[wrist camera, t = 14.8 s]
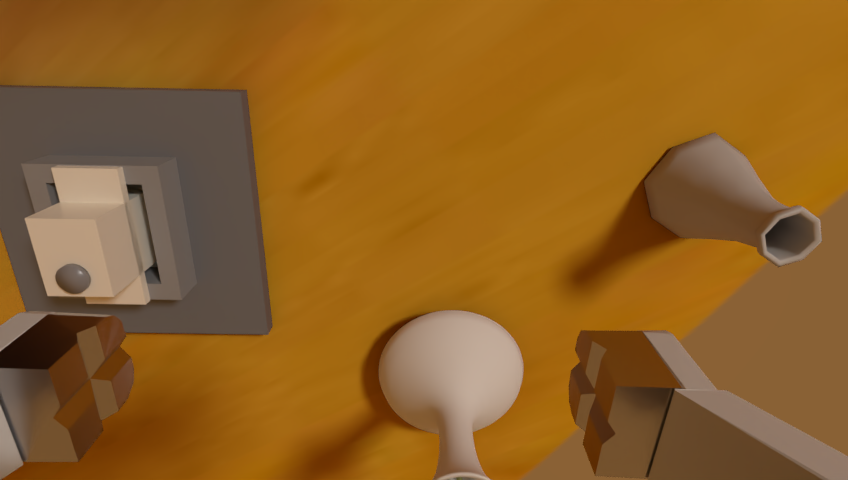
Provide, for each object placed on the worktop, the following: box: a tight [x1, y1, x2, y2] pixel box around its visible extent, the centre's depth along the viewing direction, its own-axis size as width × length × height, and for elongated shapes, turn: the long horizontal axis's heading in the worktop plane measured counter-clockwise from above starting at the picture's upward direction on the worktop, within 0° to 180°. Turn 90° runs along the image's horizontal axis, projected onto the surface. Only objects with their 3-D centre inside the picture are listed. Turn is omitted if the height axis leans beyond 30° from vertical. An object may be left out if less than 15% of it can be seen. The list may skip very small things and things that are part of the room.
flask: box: [644, 133, 822, 267], centre depth 31 cm, size 7×7×10 cm
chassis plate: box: [0, 85, 272, 335], centre depth 34 cm, size 18×18×4 cm
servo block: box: [25, 165, 157, 305], centre depth 32 cm, size 9×4×6 cm, turn 179°
